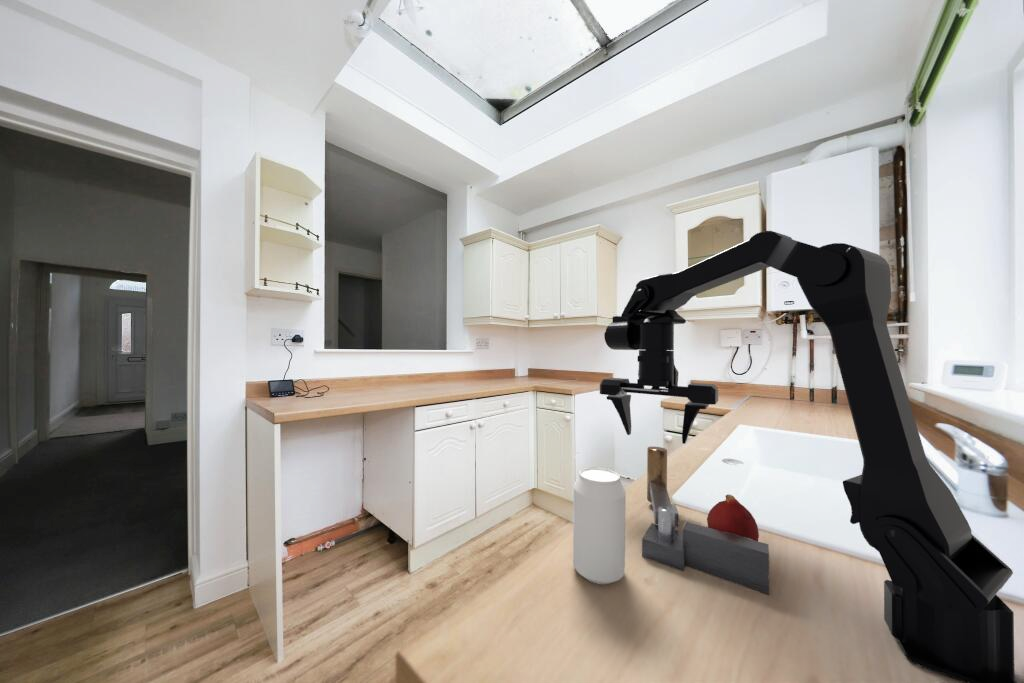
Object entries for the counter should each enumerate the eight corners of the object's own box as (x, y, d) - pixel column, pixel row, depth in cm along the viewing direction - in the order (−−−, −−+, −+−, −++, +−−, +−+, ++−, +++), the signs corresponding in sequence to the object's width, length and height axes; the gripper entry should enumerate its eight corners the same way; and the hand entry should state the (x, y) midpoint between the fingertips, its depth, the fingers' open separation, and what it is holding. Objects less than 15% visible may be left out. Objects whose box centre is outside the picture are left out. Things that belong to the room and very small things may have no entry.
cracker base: (767, 577, 41) (768, 527, 42) (769, 602, 37) (769, 546, 38) (651, 539, 49) (651, 498, 49) (642, 556, 45) (642, 511, 45)
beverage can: (575, 553, 46) (576, 463, 46) (623, 561, 44) (624, 468, 44) (570, 583, 40) (571, 480, 40) (626, 594, 38) (627, 486, 38)
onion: (742, 544, 49) (742, 487, 49) (769, 570, 43) (769, 506, 43) (699, 541, 49) (700, 485, 49) (720, 566, 43) (720, 503, 44)
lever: (678, 540, 47) (679, 475, 48) (652, 536, 48) (652, 472, 49) (666, 498, 61) (667, 447, 61) (646, 495, 62) (646, 445, 62)
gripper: (721, 351, 62) (720, 438, 61) (618, 349, 73) (617, 423, 72) (715, 351, 53) (715, 452, 52) (599, 349, 63) (598, 433, 63)
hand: (655, 438), depth 60 cm, fingers open, 9 cm apart
